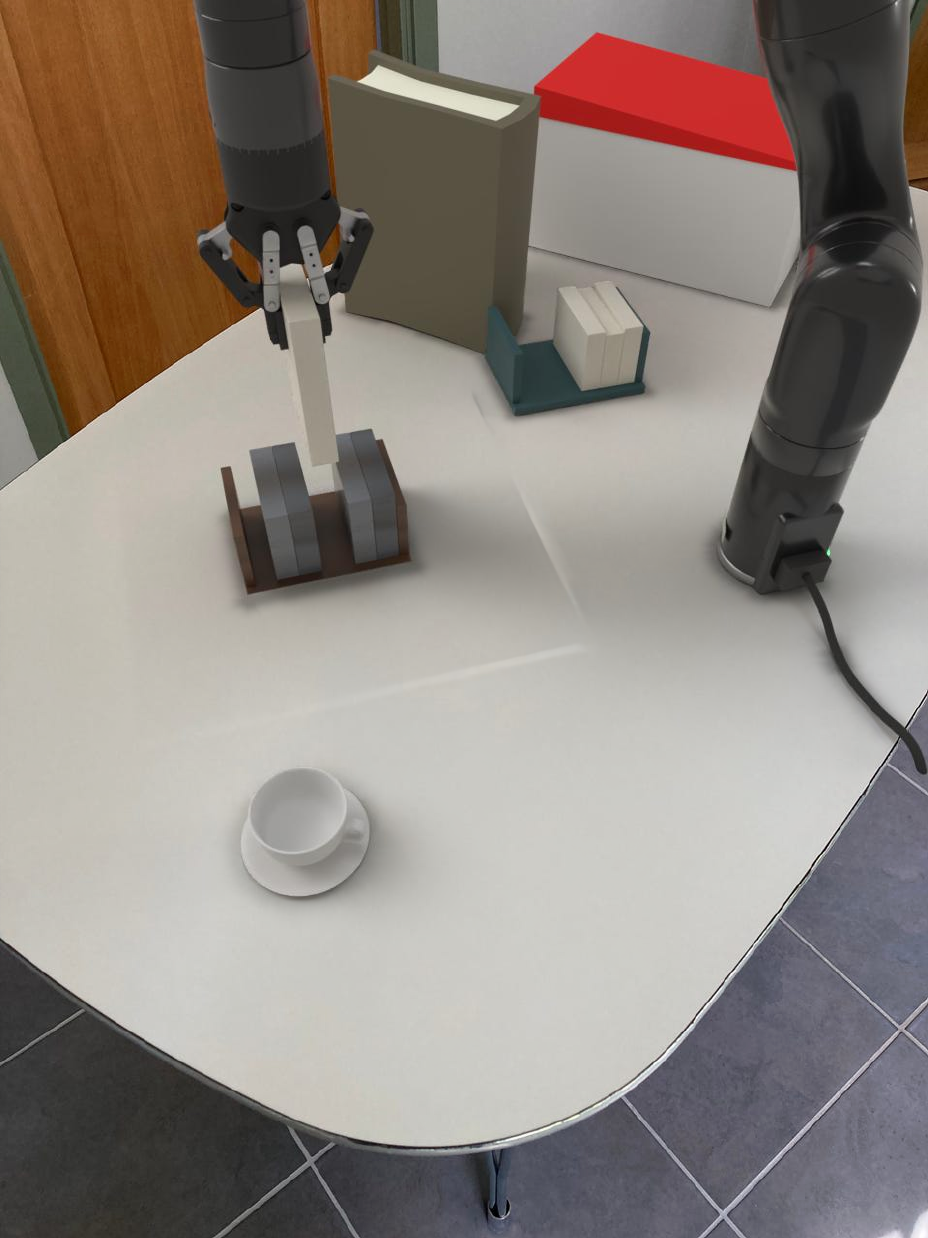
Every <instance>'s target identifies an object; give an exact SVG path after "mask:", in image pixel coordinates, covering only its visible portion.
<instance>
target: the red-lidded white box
mask: <svg viewBox="0 0 928 1238" xmlns="http://www.w3.org/2000/svg"><path fill="white" fill-rule="evenodd" d="M533 94H535V95H539V96H541V103H540V115H539V127H538V138H537V150H536V162H535V174H534V186H533V198H532V210H531V222H530V234H529V246H528V247H532V248H535V249H536V248H537V249H540V250H544V251H548V252H552V253H555V254H560V255H563V256H568V257H571V258H576V259H579V260H583V261H587V262H591V263H595V264H598V265H603V266H606V267H609V268H614V269H619V270H622V271H627V272H629V273H634V274H638V275H642V276H646V277H650V278H654V279H658V280H662V281H664V282H665V281H666V282H669V283H673V284H677V285H682V286H683V287H689V288H693V289H697V290H701V291H703V292H709V293H713V294H715V295H716V294H717V295H720V296H723V297H728V298H732V299H735V300H740V301H744V302H748V303H751V304H755V305H760V306H762V307H767V308H770V307H771V305H772V304H773V302H774V300H775V299H776V297H777V294H778V293H779V291H780V289H781V287H782V286H783V284H784V282H785V280H786V279H787V276H788V275H789V273H790V271H791V269H792V267H793V266H794V264H795V262H796V260H797V258H798V257H799V252H800V205H799V188H798V177H797V168H796V163H795V158H794V153H793V150H792V146H791V143H790V140H789V138H788V135H787V132H786V130H785V127H784V125H783V122H782V120H781V117H780V115H779V113H778V110H777V107H776V105H775V102H774V99H773V96H772V94H771V91H770V88H769V85H768V81H767V78H766V77H763V76H760V75H756V74H753V73H749V72H745V71H741V70H738V69H734V68H730V67H726V66H723V65H719V64H715V63H712V62H708V61H705V60H700V59H698V58H693V57H689V56H687V55H682V54H679V53H675V52H672V51H667V50H664V49H661V48H657V47H653V46H649V45H645V44H643V43H639V42H634V41H631V40H627V39H623V38H620V37H617V36H612V35H610V34H609V35H608V34H605V33H601V32H598V31H596V32H595V33H594V34H593V35H591V36H590V37H589V38H588V39H586V41H584V42H583V43H582V44H581V45H580V46H579V47H577V48H576V49H575V50H574V51H573V52H572V53H571V54H569V55H568V56H567V57H566V58H565V59H564V60H562V61H561V62H560V63H559V64H558V65H557V66H555V67H554V68H553V69H552V70H551V71H550V72H549V73H547V74H546V75H544V77H543V78H542V79H540V80H539V81H538V82H537V83H536V84H534V85H533Z"/></svg>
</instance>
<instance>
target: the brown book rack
mask: <svg viewBox="0 0 928 1238" xmlns="http://www.w3.org/2000/svg"><path fill="white" fill-rule="evenodd" d="M335 435H336V442H337V450H338V457H339V462H335V463H330V466H331V473H332V480H333V487H334V488H333V489H334V491H329V492H323V493H318V494H312V495H309V491H308V487H307V484H306V480H305V476H304V472H303V468H302V464H301V460H300V457H299V453H298V450H297V446H296V442H295V441H292V442H287V443H281V444H275V445H272V446H270V445H269V446H264V447H257V448H253V449H252V448H251V449H249V450H248V452H249V457H250V462H251V466H252V471H253V475H254V480H255V484H256V489H257V494H258V498H259V504H258V505H253V506H249V507H244V508H243V507H242V508H241V503H240V499H239V495H238V491H237V487H236V482H235V478H234V473H233V469H232V466H231V465H228V466H222V467H220V474H221V478H222V485H223V490H224V494H225V501H226V506H227V507H226V508H227V510H228V518H229V524H230V528H231V533H232V534H231V535H232V539H233V542H234V543H233V544H234V548H235V551H236V554H237V559H238V563H239V567H240V569H241V574H242V578H243V582H244V586H245V590H246V591H245V592H246V595H253V594H257V593H262V592H263V593H264V592H267V591H273V590H277V589H282V588H287V587H292V586H297V585H302V584H306V583H310V582H312V583H313V582H317V581H323V580H327V579H331V578H336V577H343V576H346V575H352V574H356V573H362V572H366V571H372V570H375V569H381V568H385V567H386V568H387V567H390V566H395V565H400V564H406V563H411V562H412V561H413V560H412V558H411V554H410V541H409V523H408V508H407V507H408V506H407V502H406V500H405V497H404V493H403V491H402V489H401V486H400V482H399V480H398V478H397V475H396V472H395V470H394V466H393V464H392V461H391V457H390V455H389V452H388V450H387V447H386V444H385V441H384V439H383V438H379V439H376V437H375V433H374V431H373V428H366V429H361V430H355V431H350V432H344V433H339V434H335Z"/></svg>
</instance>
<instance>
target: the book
mask: <svg viewBox="0 0 928 1238" xmlns="http://www.w3.org/2000/svg"><path fill="white" fill-rule="evenodd" d="M367 63H368V64H367V65H368V66H367V67H368V74H367V75H366V76H364V77H363V78H362V79H359V80H353V79H350V78H348V77H344V76H342V75H339V74H337V73H334V74H332V75H331V76H329V77H328V78H327V82H328V84H327V85H328V95H329V109H330V121H331V133H332V134H331V135H332V137H331V138H332V148H333V150H332V151H333V161H334V176H335V188H336V199H337V201H338V204H339V206H341V207H343V208H346V209H349V210H352V211H354V210H355V209H357V208H362V209H364V210H365V211H366V213H367V215H368V216H369V218H370V221H371V223H372V226H373V228H374V232H373V235H372V237H371V240H370V242H369V245H368V247H367V250H366V252H365V254H364V257H363V259H362V262H361V264H360V267H359V269H358V272H357V274H356V277H355V279H354V282H353V284H352V287H351V289H350V291H349V292H347V293H344V305H345V313H348V314H349V313H350V314H354V315H359V316H364V317H369V318H375V319H379V320H385V321H389V322H392V323H394V324H398V325H402V326H404V327H407V328H410V329H413V330H416V331H419V332H422V333H425V334H428V335H431V336H434V337H437V338H440V339H443V340H446V341H449V342H450V343H454V344H457V345H459V346H462V347H465V348H467V349H470V350H473V351H476V352H478V353H481V354H483V355H485V351H486V350H487V338H488V307H490V306H497V308H498V310H499V312H500V313H501V315H502V317H503V319H504V320H505V322H506V324H507V326H508V328H509V329H510V331H511V333H512V335H513V336H514V337H515V336H516V335H517V333H518V332H519V330H520V326H521V323H522V321H523V316H524V304H525V291H526V280H527V268H528V259H529V257H528V256H529V247H530V246H529V234H530V222H531V210H532V198H533V186H534V174H535V162H536V150H537V138H538V127H539V115H540V103H541V96H539V95H535V94H534V93H530V92H525V91H520V90H516V89H510V88H507V87H502V86H497V85H494V84H490V83H485V82H479V81H475V80H471V79H468V78H463V77H460V76H455V75H451V74H447V73H443V72H439V71H436V70H435V71H434V70H431V69H426V68H422V67H420V66H417V65H416V64H412V63H410V62H407V61H405V60H402V59H400V58H397V57H394V56H393V55H390V54H387V53H384V52H382V51H380V50H377V49H372V50H371V51H369V52H367ZM338 226H339V228H340V224H339V223H338ZM339 238H340V239H339V240H340V242H341V241H342V236H341V233H340V232H339Z"/></svg>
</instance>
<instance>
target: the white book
mask: <svg viewBox="0 0 928 1238" xmlns="http://www.w3.org/2000/svg"><path fill="white" fill-rule="evenodd" d="M305 273H306V272H305V270H304V268H303V265H300V264H289V265H287V266H284V267H282V268H280V285H279V294H280V304H281V307H282V310H283V316H284V322H285V328H286V334H287V340H288V346H289V349H287V350H283V351H284V352H283V353H284V357H285V363H286V368H287V369H286V370H287V375H288V382H289V386H290V392H291V398H292V403H293V405H294V409H295V413H296V417H297V420H298V423H299V427H300V431H301V434H302V437H303V440H304V444H305V445H304V446H305V448H306V453H307V455H308V458H309V462H310V465H311V467H318V466H324V465H329V464H331V463H335V462H339V457H338V450H337V442H336V435H337V434H336V428H335V420H334V412H333V406H332V398H331V389H330V384H329V383H330V382H329V376H328V375H329V374H328V368H327V360H326V353H325V352H326V351H325V346H324V344H325V343H324V344H323V337H322V329H321V322H320V317H319V314H318V311H317V308H316V305H315V302H314V299H313V297H312V294H311V291H310V284H309V281H308V278H307V275H306V274H305Z"/></svg>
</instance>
